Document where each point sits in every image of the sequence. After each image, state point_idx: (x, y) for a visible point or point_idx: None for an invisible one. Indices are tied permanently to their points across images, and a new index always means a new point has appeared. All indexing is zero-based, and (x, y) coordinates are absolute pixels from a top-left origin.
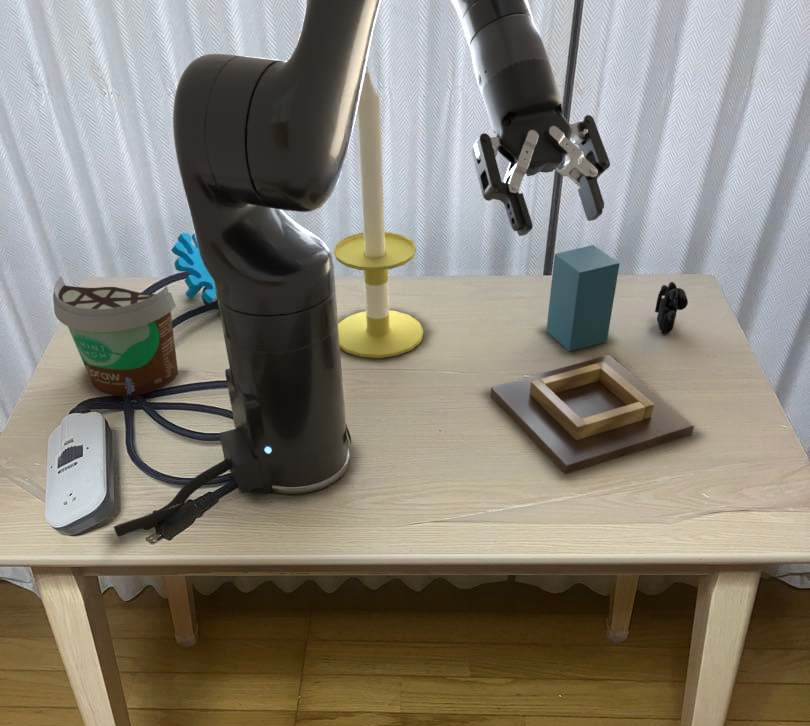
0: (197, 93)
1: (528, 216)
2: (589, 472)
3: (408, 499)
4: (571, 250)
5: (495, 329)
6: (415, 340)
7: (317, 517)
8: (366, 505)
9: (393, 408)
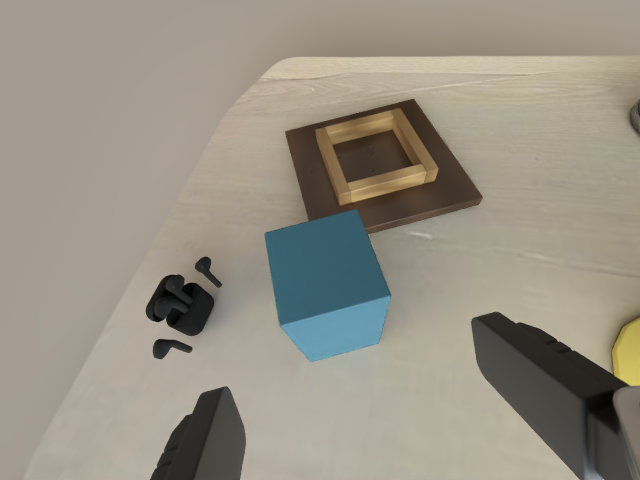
0: None
1: (500, 332)
2: None
3: (553, 91)
4: (344, 305)
5: (467, 369)
6: (626, 344)
7: (634, 79)
8: (591, 87)
9: (607, 196)
